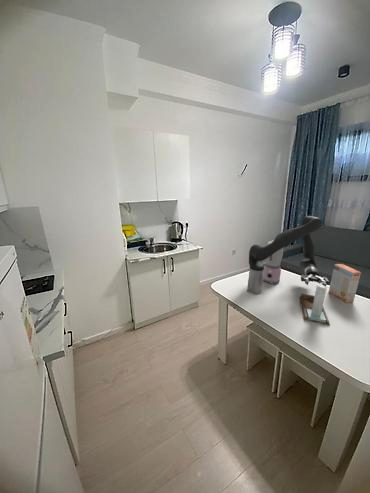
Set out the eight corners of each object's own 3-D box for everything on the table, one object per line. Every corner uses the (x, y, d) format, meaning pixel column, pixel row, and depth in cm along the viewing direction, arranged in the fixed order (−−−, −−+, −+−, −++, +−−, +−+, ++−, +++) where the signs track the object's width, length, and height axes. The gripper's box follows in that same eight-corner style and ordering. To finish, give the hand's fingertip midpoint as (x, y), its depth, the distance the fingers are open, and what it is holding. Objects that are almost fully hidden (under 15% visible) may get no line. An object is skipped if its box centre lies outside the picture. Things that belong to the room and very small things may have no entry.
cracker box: (353, 302, 128) (362, 272, 122) (344, 303, 127) (352, 272, 121) (336, 291, 141) (342, 263, 135) (328, 291, 141) (334, 263, 135)
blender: (265, 275, 166) (269, 238, 156) (281, 279, 159) (286, 240, 149) (258, 283, 154) (263, 242, 144) (275, 288, 147) (281, 245, 137)
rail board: (303, 319, 113) (304, 314, 112) (299, 298, 134) (300, 292, 133) (329, 325, 108) (330, 319, 107) (320, 301, 130) (321, 296, 128)
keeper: (308, 319, 112) (314, 289, 106) (306, 310, 119) (311, 282, 113) (325, 322, 109) (332, 291, 103) (322, 313, 116) (328, 284, 110)
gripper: (300, 266, 137) (303, 277, 123) (325, 269, 131) (331, 280, 117) (298, 277, 139) (301, 288, 125) (323, 280, 134) (329, 292, 120)
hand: (316, 284), depth 121 cm, fingers open, 8 cm apart
